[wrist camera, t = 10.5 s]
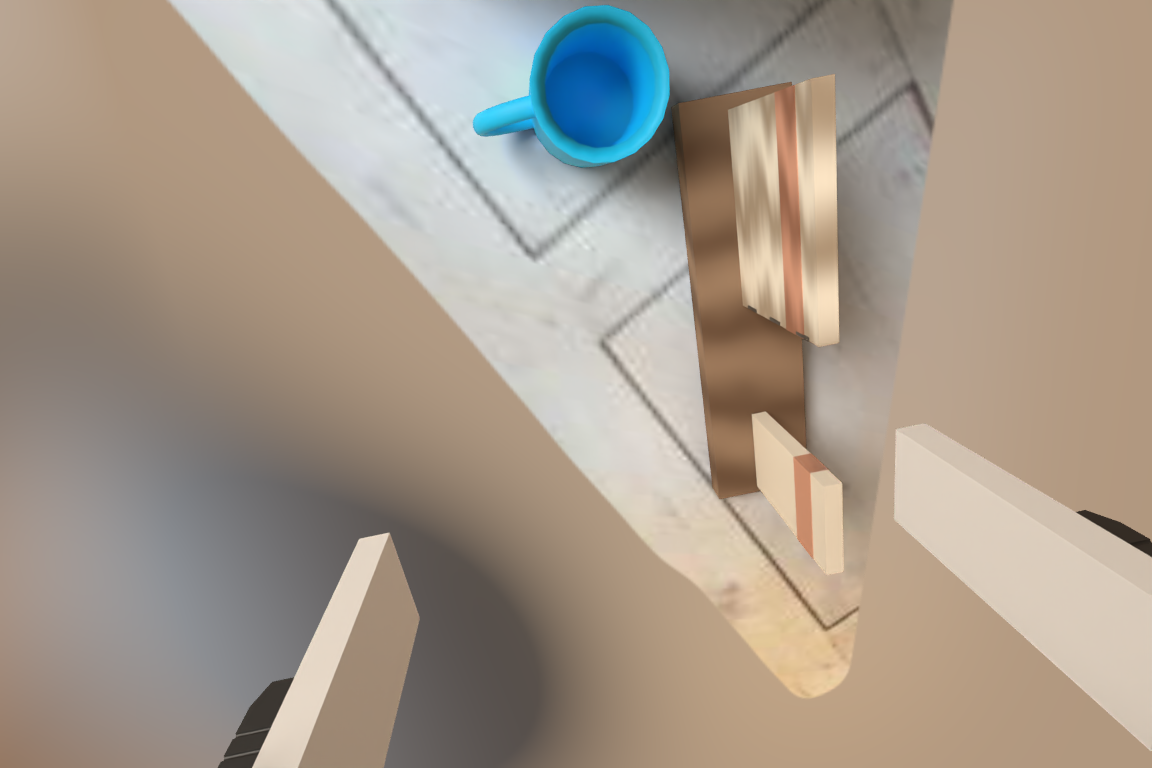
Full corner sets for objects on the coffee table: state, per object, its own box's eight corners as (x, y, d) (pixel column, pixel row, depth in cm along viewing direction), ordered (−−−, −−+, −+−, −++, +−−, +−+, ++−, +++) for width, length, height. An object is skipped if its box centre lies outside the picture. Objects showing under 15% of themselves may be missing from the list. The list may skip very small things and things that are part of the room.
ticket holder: (671, 107, 40) (742, 68, 27) (779, 86, 40) (902, 38, 27) (712, 487, 51) (777, 591, 38) (797, 470, 51) (891, 567, 38)
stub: (751, 414, 47) (823, 487, 35) (766, 411, 47) (843, 482, 35) (756, 486, 49) (825, 575, 38) (770, 483, 49) (844, 571, 38)
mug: (630, 28, 38) (656, -12, 31) (651, 153, 41) (680, 145, 34) (461, 69, 38) (445, 40, 31) (493, 191, 41) (487, 193, 33)
